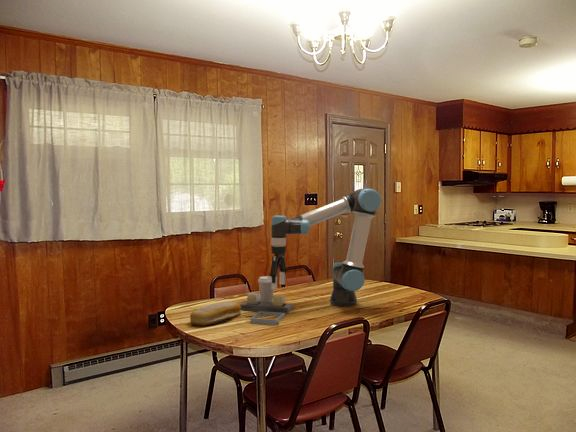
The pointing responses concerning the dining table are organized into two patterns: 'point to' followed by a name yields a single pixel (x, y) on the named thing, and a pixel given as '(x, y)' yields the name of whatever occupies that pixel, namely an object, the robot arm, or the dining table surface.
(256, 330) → the dining table surface
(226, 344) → the dining table surface
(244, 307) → the grey slotted holder
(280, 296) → the tan rectangular block
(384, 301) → the dining table surface
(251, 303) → the grey rectangular block
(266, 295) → the coffee cup
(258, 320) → the parts tray
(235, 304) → the bread
